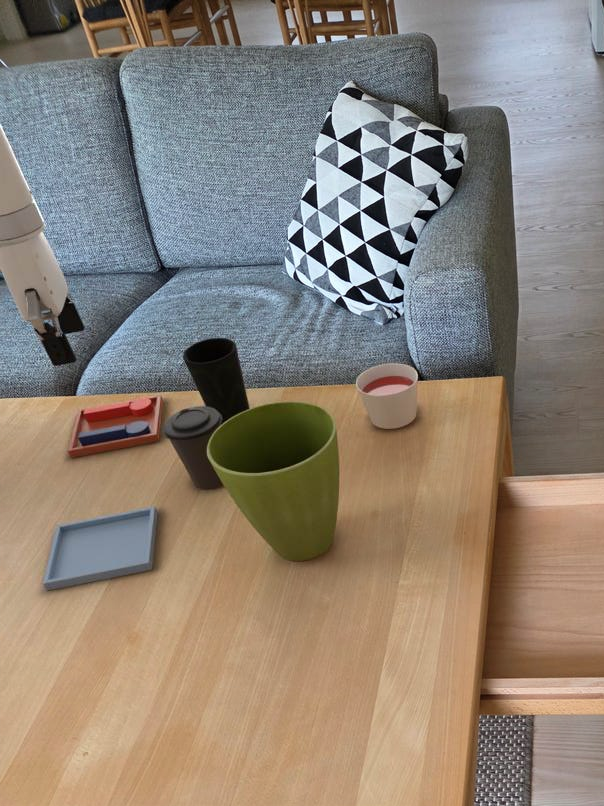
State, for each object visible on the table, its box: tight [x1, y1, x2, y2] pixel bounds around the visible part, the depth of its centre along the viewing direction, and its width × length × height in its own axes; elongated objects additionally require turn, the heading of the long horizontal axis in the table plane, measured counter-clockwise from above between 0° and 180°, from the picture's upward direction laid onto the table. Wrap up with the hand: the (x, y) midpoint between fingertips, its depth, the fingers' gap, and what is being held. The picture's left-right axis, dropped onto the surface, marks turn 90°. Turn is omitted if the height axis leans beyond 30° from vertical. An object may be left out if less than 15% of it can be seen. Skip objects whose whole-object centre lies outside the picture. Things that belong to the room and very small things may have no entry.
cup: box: [182, 337, 251, 425], centre depth 129 cm, size 8×8×12 cm
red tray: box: [67, 394, 164, 458], centre depth 135 cm, size 13×12×1 cm
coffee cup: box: [162, 405, 224, 491], centre depth 119 cm, size 8×8×10 cm
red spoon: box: [84, 397, 153, 423], centre depth 137 cm, size 10×3×2 cm, turn 101°
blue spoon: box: [78, 421, 150, 446], centre depth 132 cm, size 10×3×2 cm, turn 101°
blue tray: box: [42, 506, 159, 591], centre depth 113 cm, size 13×12×1 cm
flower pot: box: [207, 400, 340, 562], centre depth 105 cm, size 15×15×16 cm
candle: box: [355, 362, 419, 430], centre depth 128 cm, size 9×9×6 cm
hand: (70, 347), depth 123 cm, fingers open, 9 cm apart
